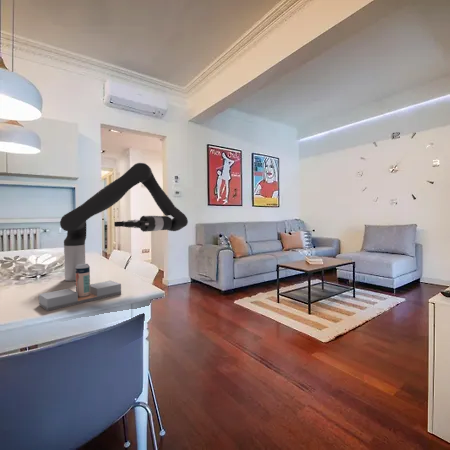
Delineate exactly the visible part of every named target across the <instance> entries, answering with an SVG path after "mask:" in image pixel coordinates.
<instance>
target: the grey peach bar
mask: <svg viewBox="0 0 450 450" xmlns="http://www.w3.org/2000/svg"><path fill="white" fill-rule="evenodd" d="M116 295H122V284H121V283H120V282H116V281H114V280H107V281H101V282H95V283H90V295H88V296H86V297H78V293H77V292H76V290H72V289H70V288H66V289H60V290H53V291H48V292H43V293H39V294H38V305H39V306H40V307H41V308H43V309H44V310H45V311H46V312H49V311H54V310H57V309H58V310H59V309H62V308H66V307H70V306H74V305H78V304H83V303H87V302H92V301H95V300H100V299H103V298H108V297H112V296H116Z"/></svg>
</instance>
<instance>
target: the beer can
mask: <svg viewBox="0 0 450 450" xmlns="http://www.w3.org/2000/svg"><path fill="white" fill-rule="evenodd" d="M90 268H91V267H90V265H89V264H88V263H85V264H78V265H77V266H76V267H75V272H76V281H75V292H77V293H78V297H86V296H88V295H90V284H91V275H90V273H91V270H90Z"/></svg>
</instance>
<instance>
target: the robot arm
mask: <svg viewBox="0 0 450 450" xmlns="http://www.w3.org/2000/svg"><path fill="white" fill-rule="evenodd" d="M139 183H141V184H142V185H143V186H144V187H145V188H146V189H147V190H148V192H149V193H150V195H151V197H152V198H153V200H154V202H155V203H156V205H157V207H158V208H159V210H160V211H161V212H162V213H163V214H164V215H142V216H140V218H139V219H128V220H125V221H124V220H122V221H114V227H118V228H119V227H122V228H133V229H140V231H141V232H143V233H144V232H147V233H148V232H157V231H158V232H159V231H166V230H167V231H168V232H169V231H170V232H177V231H180V230H181V229H183V228H184V227H186V226H188V223H189V221H188V217H187V216H186V214H184V212H182V211H181V210H180V209H179V208H178V207H177V206H175V204H174V203H173V201H172V200H171V198H169V196H168V195H167V194H166V192H165V191H164V189H162V187H161V186H160V184H159V183H158V181H157V179H156V177H155V175H154V173H153V170H152V169H151V167H150V166H149V165H148V164H147V163H145V162H142V161H139V162H137V163H135V164H134V165H132V166H131V167H130V168H129V169H128V170H127V171H126V172H124V173H123V174H122V175H121V176H120V177H118V178H116V179H115V180H113V181H112V182H110V183H108V184H107V185H106V186H104V187H103V188H101V189H99V190H98V192H96V193H95V194H93V195H92V196H91V197H90V198H88V199H87V200H86V201H85V202H83V203H82V204H80V205H79V206H77V207H76V208H74V209H72V210H71V211H68V212H67V213H65V214H64V215H63V216H62V217H61V219H60V222H59V226H60V228H61V229H62V230H63V231H65V232H66V237H65V238H64V240H63V255H64V258H63V259H64V264H63V265H64V280H65V281H67V282H76V272H75V267H76V266H77V265H78V264H86V239H87V221H88V220H89V219H90V218H92V217H93V216H95V215H98V214H100V213H103V212H104V211H106V210H108V209H110V208H111V207H112V206H114V205H116V203H118V202H120V200H121V199H122V198H123V197H124V196H125V195H126V194H127V193H128V191H130V189H132V188H133V187H135V186H136V185H138V184H139ZM170 216H171V217H172V218H171V217H170Z"/></svg>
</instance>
